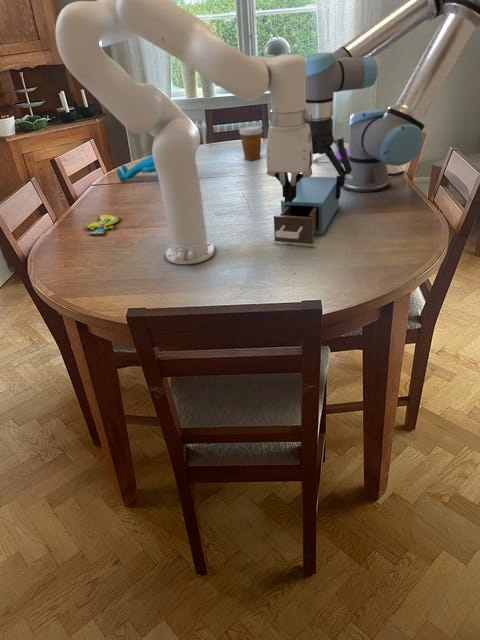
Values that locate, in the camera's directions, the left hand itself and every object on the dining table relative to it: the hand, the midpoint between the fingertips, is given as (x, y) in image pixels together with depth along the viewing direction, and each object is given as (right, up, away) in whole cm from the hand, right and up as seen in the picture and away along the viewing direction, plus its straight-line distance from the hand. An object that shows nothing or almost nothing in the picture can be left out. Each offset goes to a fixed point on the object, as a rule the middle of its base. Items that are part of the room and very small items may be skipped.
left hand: (289, 200), depth 115 cm
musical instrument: (+25, +36, +76) cm, 88 cm away
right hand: (+11, +8, +27) cm, 30 cm away
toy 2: (-44, +26, +70) cm, 86 cm away
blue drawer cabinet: (+9, 0, +23) cm, 25 cm away
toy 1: (-54, 0, +32) cm, 62 cm away
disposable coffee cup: (-7, +39, +85) cm, 93 cm away
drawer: (+4, -5, +14) cm, 15 cm away
